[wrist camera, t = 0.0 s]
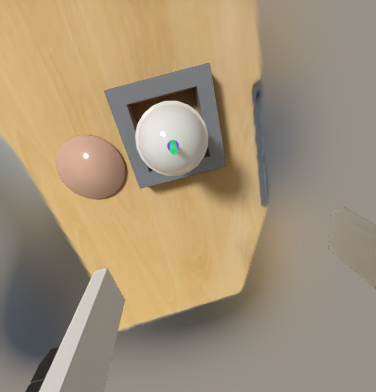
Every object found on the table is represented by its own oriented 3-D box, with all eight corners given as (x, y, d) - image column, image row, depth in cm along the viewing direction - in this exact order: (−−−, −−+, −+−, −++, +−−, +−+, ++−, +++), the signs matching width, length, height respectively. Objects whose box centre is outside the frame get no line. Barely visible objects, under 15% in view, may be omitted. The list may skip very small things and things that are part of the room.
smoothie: (200, 144, 36) (232, 178, 18) (158, 160, 37) (148, 208, 19) (184, 97, 33) (205, 79, 15) (139, 115, 33) (104, 119, 15)
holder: (110, 92, 32) (103, 90, 29) (205, 67, 32) (209, 62, 28) (142, 182, 38) (140, 188, 35) (221, 161, 38) (226, 166, 35)
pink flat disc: (44, 144, 34) (42, 145, 33) (110, 127, 34) (109, 127, 33) (76, 204, 39) (75, 205, 38) (134, 189, 39) (134, 190, 38)
